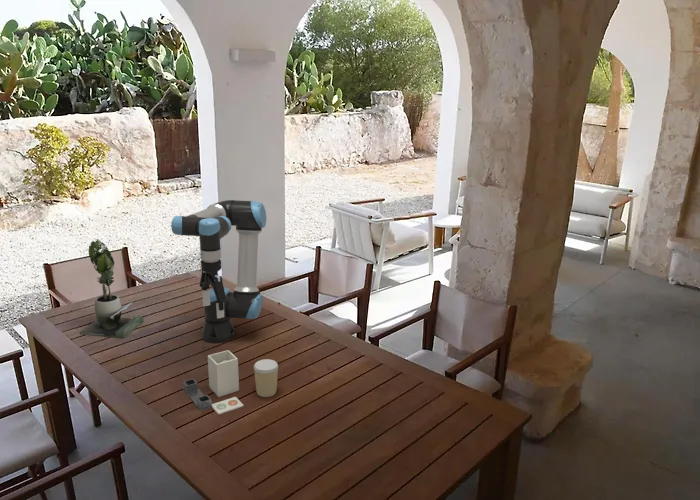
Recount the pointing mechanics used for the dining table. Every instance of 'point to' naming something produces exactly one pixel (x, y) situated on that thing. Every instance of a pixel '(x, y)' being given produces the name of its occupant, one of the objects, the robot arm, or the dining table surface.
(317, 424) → the dining table surface
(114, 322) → the potted plant
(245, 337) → the dining table surface
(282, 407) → the dining table surface
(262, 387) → the coffee cup
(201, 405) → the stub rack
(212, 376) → the open square box
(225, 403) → the card
